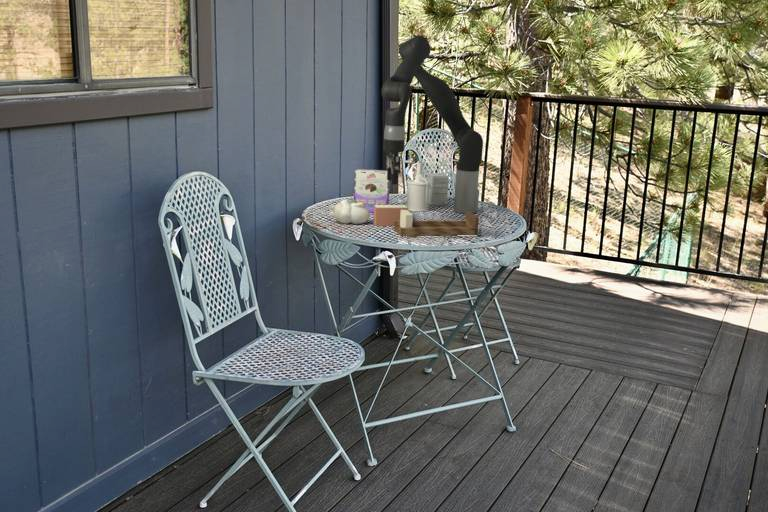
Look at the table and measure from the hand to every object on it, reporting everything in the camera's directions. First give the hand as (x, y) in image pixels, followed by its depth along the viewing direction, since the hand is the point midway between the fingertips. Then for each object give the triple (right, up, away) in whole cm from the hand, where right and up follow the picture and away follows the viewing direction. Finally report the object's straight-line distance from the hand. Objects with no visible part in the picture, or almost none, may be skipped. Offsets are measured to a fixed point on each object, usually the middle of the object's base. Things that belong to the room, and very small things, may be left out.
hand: (392, 182), depth 297 cm
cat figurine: (-16, -15, +4) cm, 22 cm away
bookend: (+5, -17, -8) cm, 20 cm away
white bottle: (+11, -9, +33) cm, 36 cm away
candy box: (-8, -9, +26) cm, 29 cm away
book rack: (+15, -19, -5) cm, 25 cm away
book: (-1, -16, +4) cm, 16 cm away
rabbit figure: (+5, -13, +17) cm, 22 cm away
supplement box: (+19, -5, +48) cm, 52 cm away
